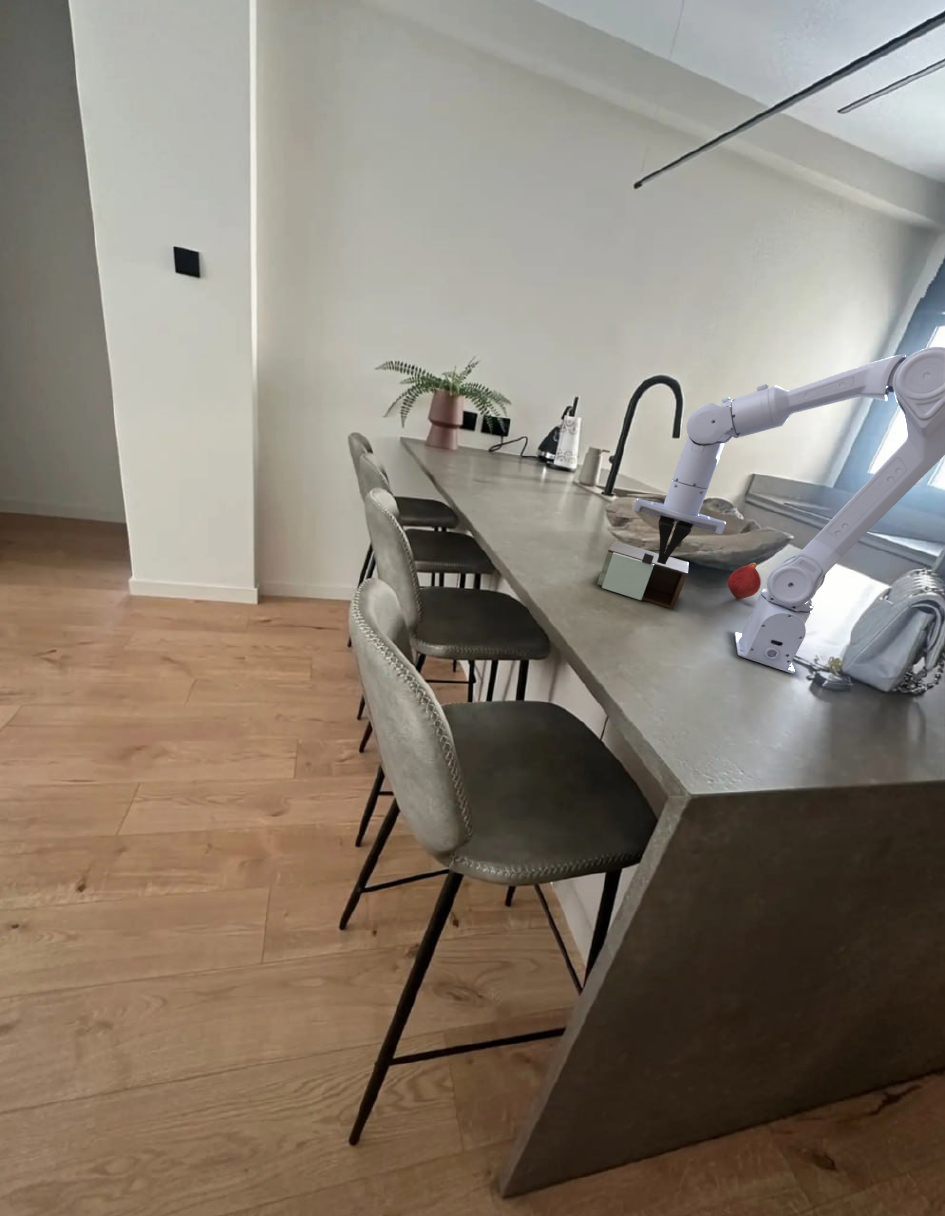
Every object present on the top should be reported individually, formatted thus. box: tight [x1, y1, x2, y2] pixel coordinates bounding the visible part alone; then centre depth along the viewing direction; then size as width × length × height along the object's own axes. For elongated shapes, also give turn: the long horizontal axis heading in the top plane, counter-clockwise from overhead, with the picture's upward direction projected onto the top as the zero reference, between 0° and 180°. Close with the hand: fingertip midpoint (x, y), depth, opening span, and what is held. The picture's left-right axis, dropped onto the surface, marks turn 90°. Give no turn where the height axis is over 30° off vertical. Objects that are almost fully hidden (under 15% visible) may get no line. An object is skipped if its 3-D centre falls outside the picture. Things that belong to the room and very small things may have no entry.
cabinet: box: [596, 540, 689, 610], centre depth 97 cm, size 8×14×7 cm, turn 68°
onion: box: [727, 562, 762, 601], centre depth 105 cm, size 6×6×8 cm
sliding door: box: [601, 552, 654, 601], centre depth 93 cm, size 1×7×8 cm, turn 68°
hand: (661, 562), depth 90 cm, fingers closed
